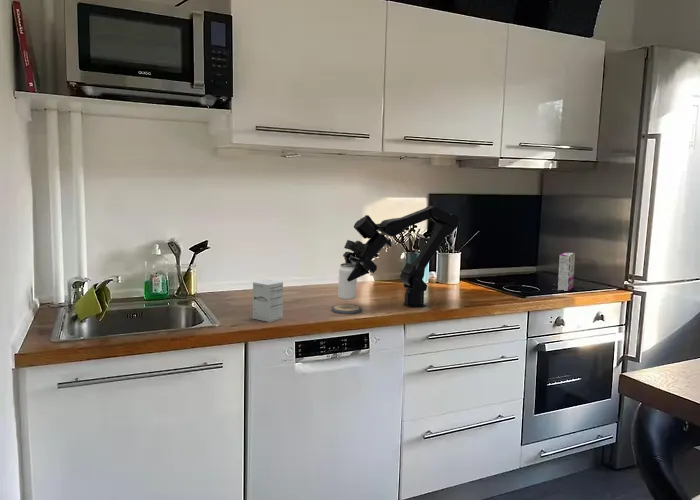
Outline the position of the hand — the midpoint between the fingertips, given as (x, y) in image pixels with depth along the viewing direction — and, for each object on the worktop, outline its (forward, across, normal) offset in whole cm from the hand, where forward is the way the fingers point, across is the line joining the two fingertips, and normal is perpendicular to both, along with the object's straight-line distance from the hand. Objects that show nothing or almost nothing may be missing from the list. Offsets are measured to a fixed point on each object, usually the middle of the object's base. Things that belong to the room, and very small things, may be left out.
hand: (344, 279), depth 204 cm
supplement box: (+28, +3, -12) cm, 31 cm away
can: (+4, 0, +6) cm, 7 cm away
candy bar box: (-68, -7, +87) cm, 111 cm away
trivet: (+7, 0, +9) cm, 12 cm away
